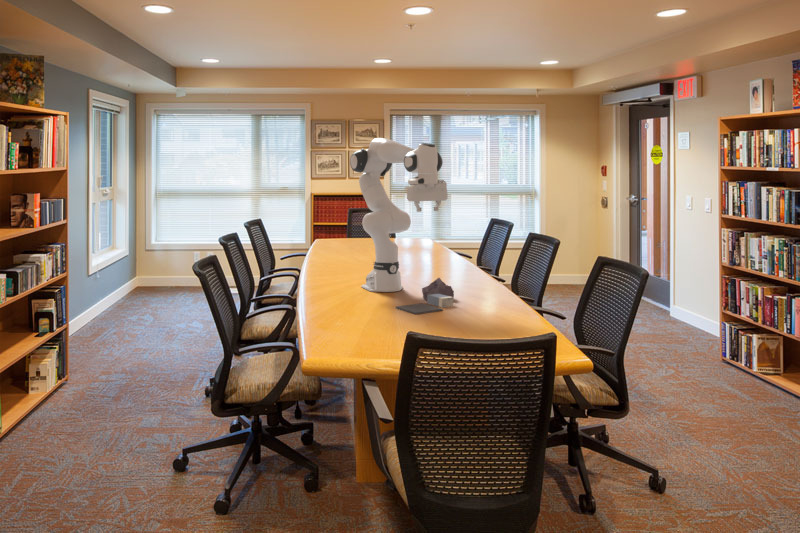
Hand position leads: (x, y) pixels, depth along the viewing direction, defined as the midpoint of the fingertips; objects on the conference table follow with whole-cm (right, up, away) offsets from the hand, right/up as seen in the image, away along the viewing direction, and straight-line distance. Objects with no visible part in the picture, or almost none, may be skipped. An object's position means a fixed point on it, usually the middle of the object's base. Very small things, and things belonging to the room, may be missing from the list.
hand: (427, 211), depth 305 cm
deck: (+5, -42, -2) cm, 42 cm away
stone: (+5, -40, +9) cm, 42 cm away
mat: (-4, -43, -13) cm, 45 cm away
